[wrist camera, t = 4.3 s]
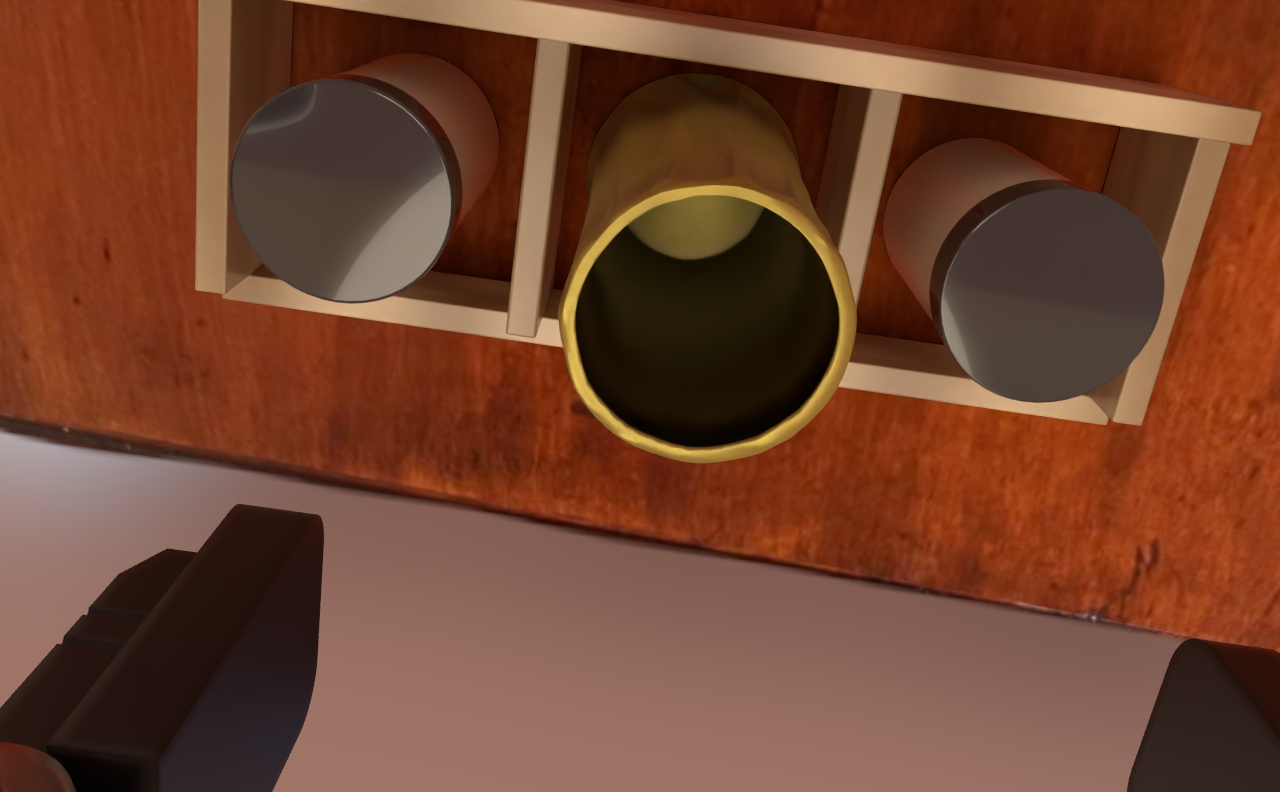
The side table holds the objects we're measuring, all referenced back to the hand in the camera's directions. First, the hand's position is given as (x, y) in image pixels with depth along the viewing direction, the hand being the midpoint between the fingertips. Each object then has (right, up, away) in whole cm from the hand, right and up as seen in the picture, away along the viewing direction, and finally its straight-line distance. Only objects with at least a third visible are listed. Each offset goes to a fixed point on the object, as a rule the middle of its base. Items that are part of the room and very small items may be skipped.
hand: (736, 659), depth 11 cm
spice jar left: (-7, +10, +23) cm, 26 cm away
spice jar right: (+9, +8, +23) cm, 26 cm away
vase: (+1, +9, +23) cm, 25 cm away
